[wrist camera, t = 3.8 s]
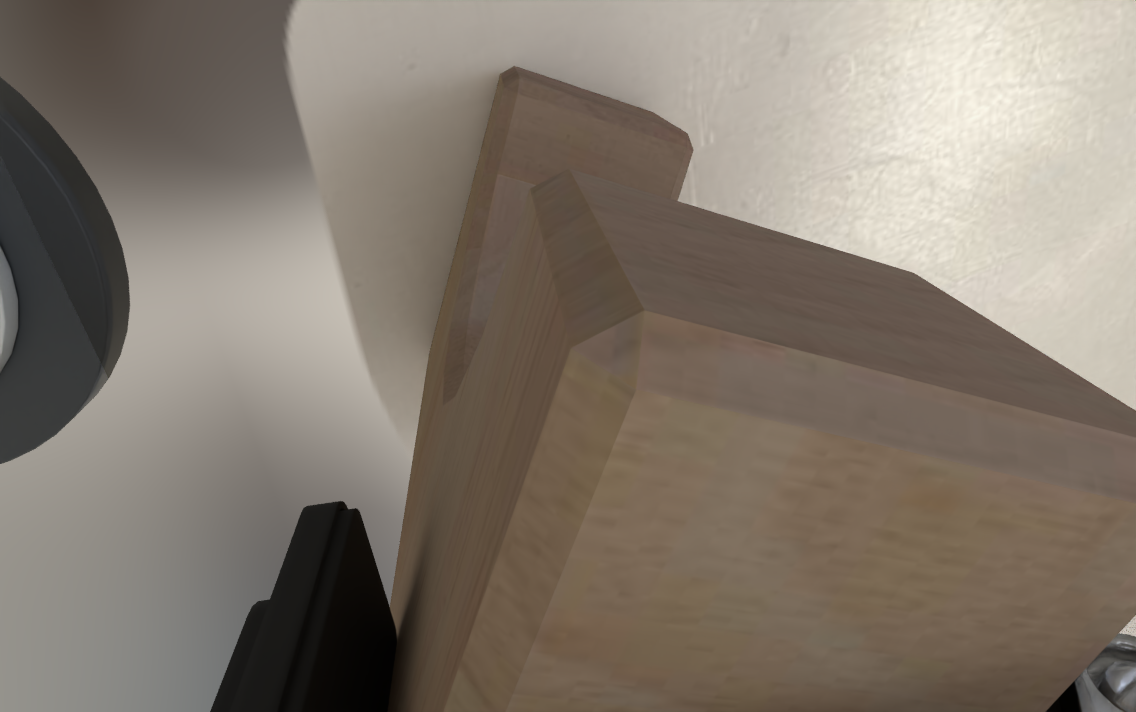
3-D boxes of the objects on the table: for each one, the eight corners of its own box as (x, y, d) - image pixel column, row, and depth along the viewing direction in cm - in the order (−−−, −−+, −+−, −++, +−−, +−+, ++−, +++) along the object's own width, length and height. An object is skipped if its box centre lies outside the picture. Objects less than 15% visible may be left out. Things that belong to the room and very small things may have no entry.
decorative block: (504, 58, 21) (604, 304, 4) (666, 116, 23) (1308, 499, 5) (422, 356, 26) (290, 1115, 8) (561, 390, 27) (707, 1100, 10)
